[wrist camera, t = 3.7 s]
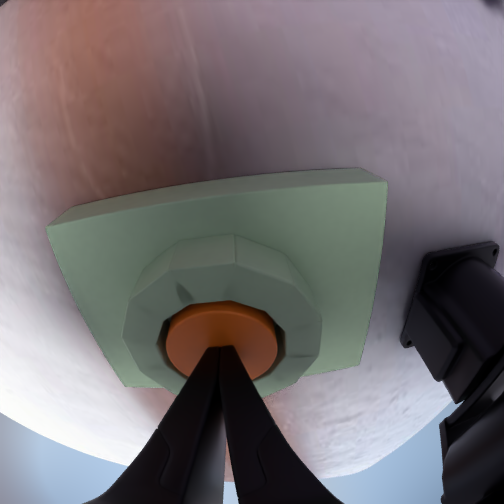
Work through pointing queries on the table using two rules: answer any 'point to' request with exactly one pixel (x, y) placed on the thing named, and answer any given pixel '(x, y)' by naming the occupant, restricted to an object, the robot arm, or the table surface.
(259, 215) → the control block
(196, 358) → the button
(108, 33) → the table surface
